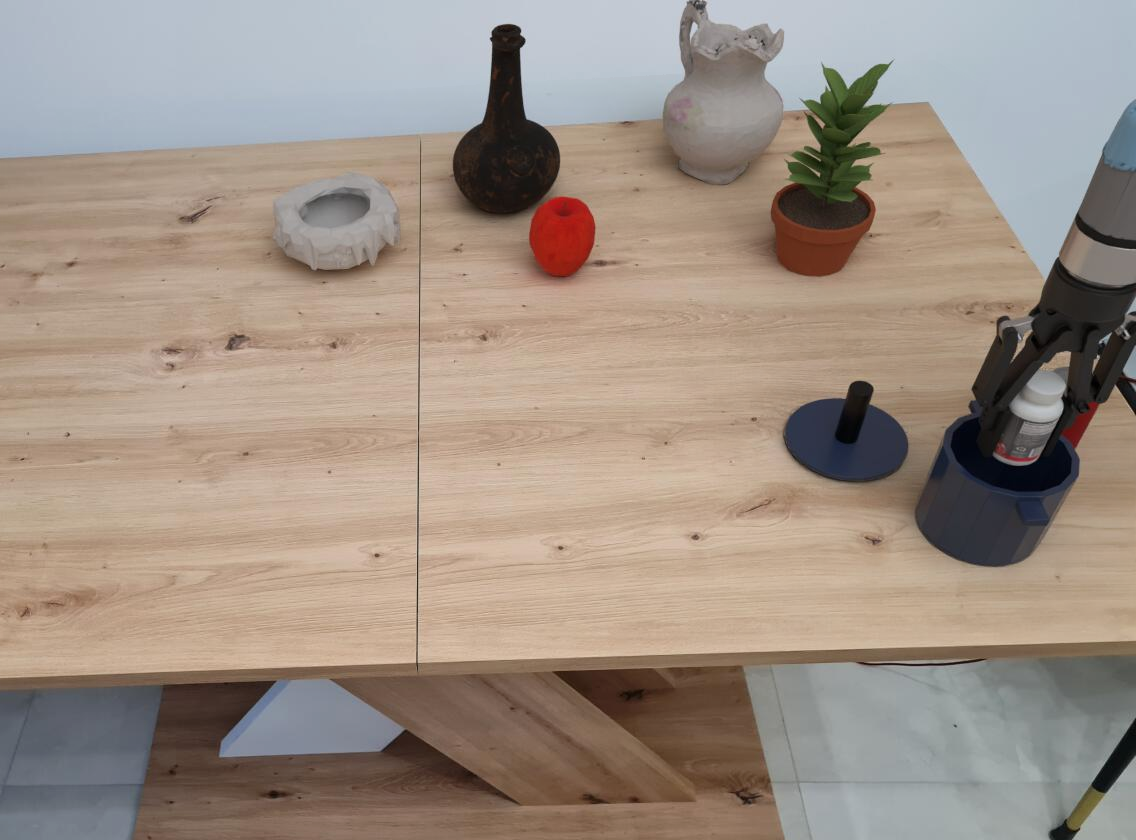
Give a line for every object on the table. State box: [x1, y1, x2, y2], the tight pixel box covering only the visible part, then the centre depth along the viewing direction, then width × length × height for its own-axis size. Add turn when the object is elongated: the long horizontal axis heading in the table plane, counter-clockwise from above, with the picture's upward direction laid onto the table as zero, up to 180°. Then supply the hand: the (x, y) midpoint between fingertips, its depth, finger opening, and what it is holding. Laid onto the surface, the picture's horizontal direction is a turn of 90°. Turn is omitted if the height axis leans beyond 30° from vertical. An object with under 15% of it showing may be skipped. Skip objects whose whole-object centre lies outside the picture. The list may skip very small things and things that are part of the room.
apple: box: [528, 196, 597, 277], centre depth 158 cm, size 10×10×12 cm
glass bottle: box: [452, 23, 561, 214], centre depth 168 cm, size 18×18×28 cm
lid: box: [784, 380, 909, 482], centre depth 130 cm, size 15×15×9 cm
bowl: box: [272, 171, 401, 271], centre depth 167 cm, size 21×20×10 cm
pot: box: [914, 399, 1081, 568], centre depth 119 cm, size 14×19×12 cm
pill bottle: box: [992, 368, 1066, 466], centre depth 111 cm, size 5×5×10 cm
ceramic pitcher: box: [662, 0, 785, 186], centre depth 172 cm, size 22×20×25 cm
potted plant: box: [770, 59, 895, 277], centre depth 149 cm, size 15×15×30 cm
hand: (1012, 448), depth 114 cm, fingers closed on pill bottle, 5 cm apart
